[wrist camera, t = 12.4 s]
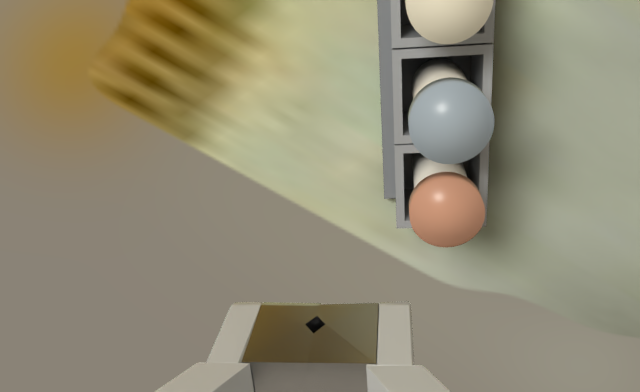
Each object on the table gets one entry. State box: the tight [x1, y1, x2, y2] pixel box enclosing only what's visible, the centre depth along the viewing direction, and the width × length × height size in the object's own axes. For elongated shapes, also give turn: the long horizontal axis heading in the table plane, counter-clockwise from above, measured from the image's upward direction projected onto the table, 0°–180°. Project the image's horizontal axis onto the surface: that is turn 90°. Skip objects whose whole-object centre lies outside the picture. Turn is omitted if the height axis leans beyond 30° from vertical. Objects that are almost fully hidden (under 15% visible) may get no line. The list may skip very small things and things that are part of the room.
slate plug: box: [408, 58, 494, 164], centre depth 32 cm, size 4×4×8 cm
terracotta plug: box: [409, 153, 485, 247], centre depth 35 cm, size 4×4×8 cm
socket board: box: [377, 0, 495, 228], centre depth 36 cm, size 7×17×6 cm, turn 4°
